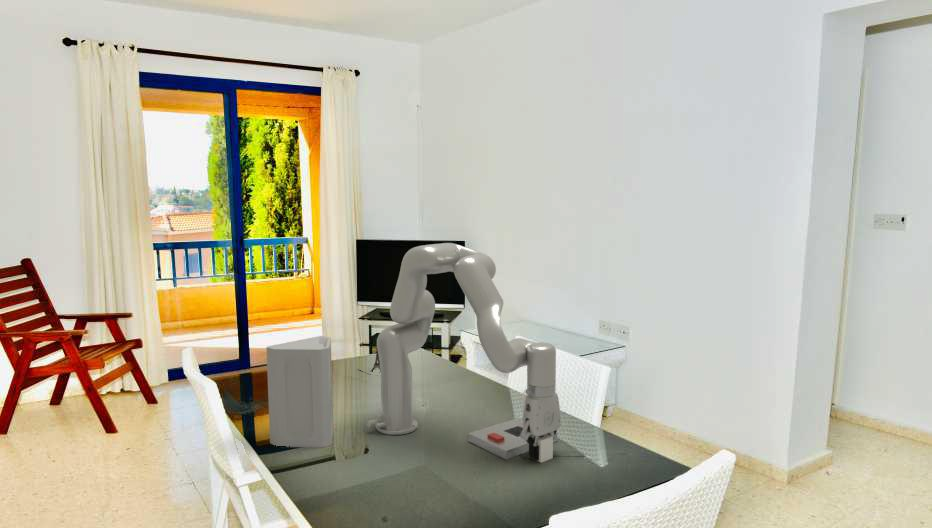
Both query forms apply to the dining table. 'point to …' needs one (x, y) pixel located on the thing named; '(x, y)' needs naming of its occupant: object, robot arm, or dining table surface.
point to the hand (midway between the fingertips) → (540, 455)
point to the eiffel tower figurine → (376, 365)
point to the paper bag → (300, 393)
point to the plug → (545, 447)
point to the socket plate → (508, 442)
